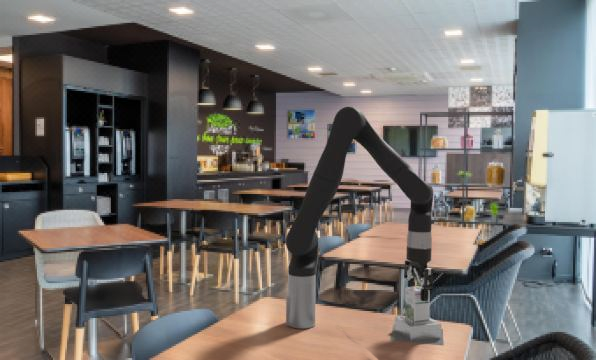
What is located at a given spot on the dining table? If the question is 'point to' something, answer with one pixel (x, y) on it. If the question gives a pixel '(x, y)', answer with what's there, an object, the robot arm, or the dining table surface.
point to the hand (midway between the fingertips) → (417, 297)
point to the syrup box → (416, 306)
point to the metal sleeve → (418, 329)
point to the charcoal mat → (397, 337)
